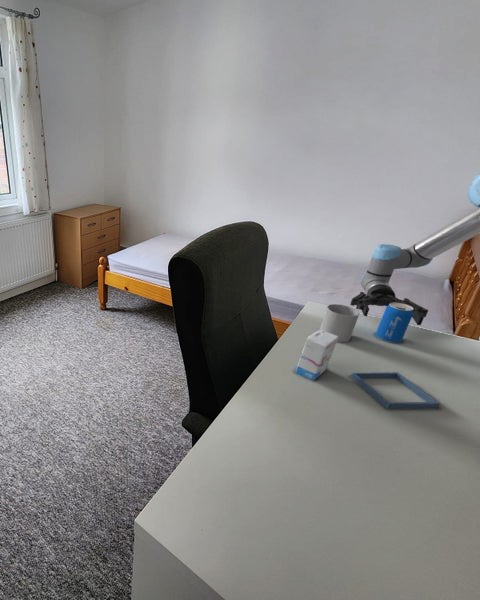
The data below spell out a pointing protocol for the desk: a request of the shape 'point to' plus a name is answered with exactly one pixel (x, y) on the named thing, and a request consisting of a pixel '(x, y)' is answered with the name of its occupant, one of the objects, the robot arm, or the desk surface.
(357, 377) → the rectangular frame
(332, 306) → the cup
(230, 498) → the desk surface
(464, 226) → the robot arm
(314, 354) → the ink box
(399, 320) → the beverage can
